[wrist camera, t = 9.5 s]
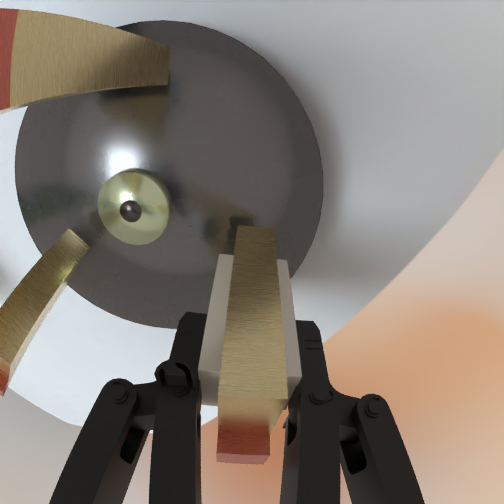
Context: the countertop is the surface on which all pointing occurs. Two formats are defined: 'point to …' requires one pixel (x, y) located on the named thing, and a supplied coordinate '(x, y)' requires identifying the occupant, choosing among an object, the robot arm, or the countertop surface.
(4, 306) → the knob
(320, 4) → the countertop surface
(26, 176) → the tribrach plate
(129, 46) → the knob
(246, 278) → the knob
